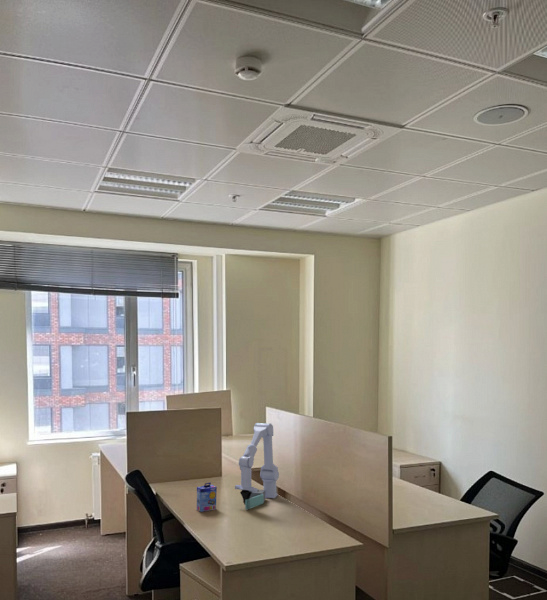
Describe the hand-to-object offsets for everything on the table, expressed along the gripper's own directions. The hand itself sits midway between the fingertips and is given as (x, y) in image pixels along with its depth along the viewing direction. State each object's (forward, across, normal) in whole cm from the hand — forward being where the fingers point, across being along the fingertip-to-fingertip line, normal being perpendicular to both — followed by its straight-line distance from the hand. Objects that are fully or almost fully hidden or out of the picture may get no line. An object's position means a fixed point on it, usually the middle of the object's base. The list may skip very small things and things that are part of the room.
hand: (246, 504), depth 318 cm
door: (+2, +2, +6) cm, 6 cm away
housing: (+2, -6, +14) cm, 16 cm away
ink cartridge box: (+2, -16, -14) cm, 22 cm away
